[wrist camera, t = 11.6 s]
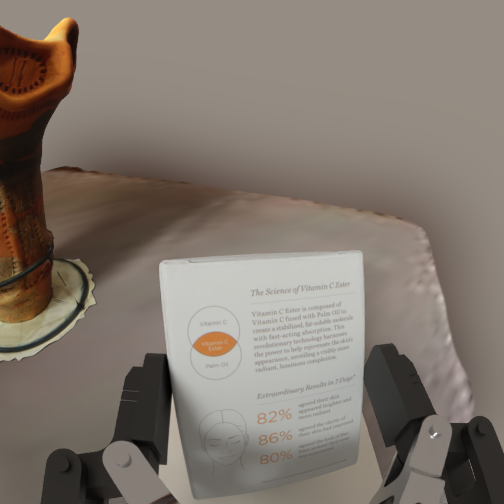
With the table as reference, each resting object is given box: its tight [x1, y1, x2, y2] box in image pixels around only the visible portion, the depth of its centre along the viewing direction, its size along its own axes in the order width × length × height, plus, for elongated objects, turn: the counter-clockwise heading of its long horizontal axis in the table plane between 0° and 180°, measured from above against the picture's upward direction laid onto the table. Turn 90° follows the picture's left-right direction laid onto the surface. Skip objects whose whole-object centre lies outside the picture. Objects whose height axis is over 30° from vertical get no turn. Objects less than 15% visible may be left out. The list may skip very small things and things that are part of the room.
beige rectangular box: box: [158, 393, 383, 504], centre depth 15 cm, size 14×12×2 cm
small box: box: [159, 250, 365, 500], centre depth 14 cm, size 8×6×10 cm
